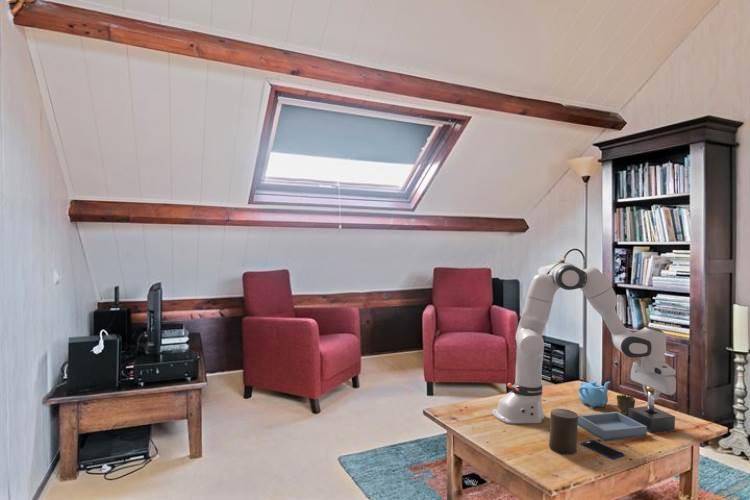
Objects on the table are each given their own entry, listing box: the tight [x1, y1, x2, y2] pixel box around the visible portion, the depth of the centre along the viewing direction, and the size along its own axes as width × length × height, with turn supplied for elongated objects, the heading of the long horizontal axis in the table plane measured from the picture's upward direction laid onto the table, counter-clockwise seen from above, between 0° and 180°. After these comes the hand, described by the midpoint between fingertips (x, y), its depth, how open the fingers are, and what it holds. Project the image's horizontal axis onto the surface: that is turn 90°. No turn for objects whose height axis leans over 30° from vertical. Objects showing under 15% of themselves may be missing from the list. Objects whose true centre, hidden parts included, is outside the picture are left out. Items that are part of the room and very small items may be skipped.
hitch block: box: [627, 405, 676, 434], centre depth 198 cm, size 12×12×6 cm
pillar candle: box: [548, 408, 579, 455], centre depth 176 cm, size 10×10×15 cm
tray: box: [578, 411, 648, 442], centre depth 193 cm, size 20×16×4 cm
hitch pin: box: [646, 386, 655, 414], centre depth 198 cm, size 4×4×12 cm
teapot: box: [578, 381, 611, 409], centre depth 223 cm, size 13×14×11 cm
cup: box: [616, 394, 636, 417], centre depth 210 cm, size 8×7×8 cm
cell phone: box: [580, 439, 625, 460], centre depth 176 cm, size 7×14×1 cm, turn 28°
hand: (651, 397), depth 198 cm, fingers closed on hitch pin, 2 cm apart
